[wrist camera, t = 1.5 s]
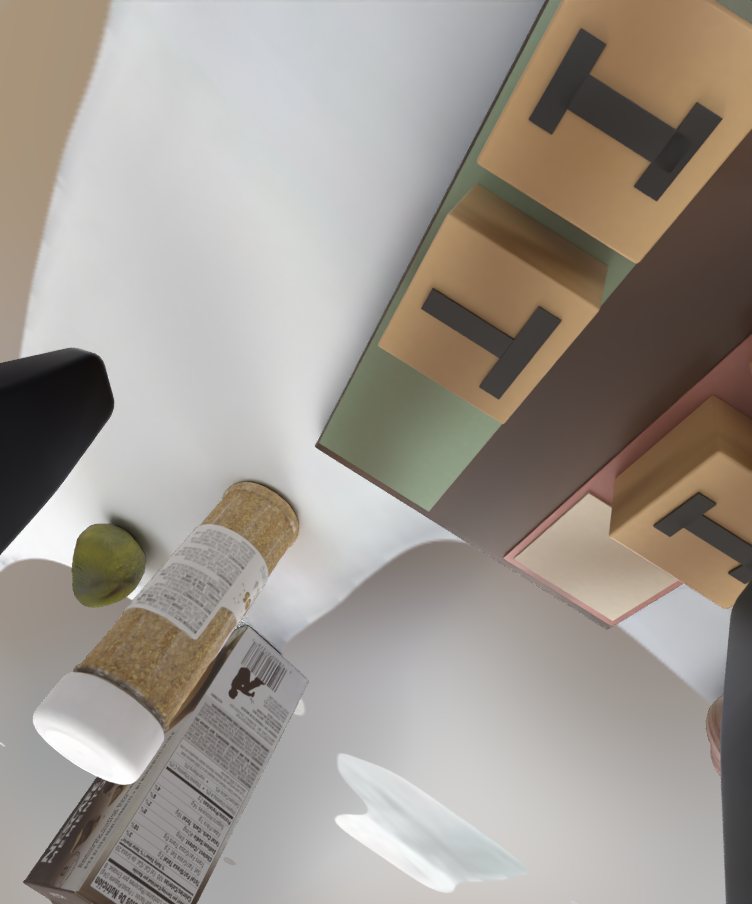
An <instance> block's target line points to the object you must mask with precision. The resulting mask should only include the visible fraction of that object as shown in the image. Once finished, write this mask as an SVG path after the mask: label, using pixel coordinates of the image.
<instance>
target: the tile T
mask: <svg viewBox="0 0 752 904" xmlns="http://www.w3.org/2000/svg"><path fill="white" fill-rule="evenodd" d="M607 271H608V266H607V265H605V264H604V263H602V262H600V261H599V260H597V259H596V258H594V257H593V256H591V255H589V254H588V253H586V252H585V251H583V250H582V249H580V248H578V247H577V246H575V245H574V244H572V243H570V242H569V241H567V240H566V239H564V238H563V237H561V236H559V235H558V234H556V233H555V232H553V231H552V230H550V229H548V228H547V227H545V226H544V225H542V224H540V223H539V222H537V221H536V220H534V219H533V218H531V217H529V216H528V215H526V214H525V213H523V212H522V211H520V210H518V209H517V208H515V207H514V206H512V205H510V204H509V203H507V202H506V201H504V200H503V199H501V198H499V197H498V196H496V195H495V194H493V193H492V192H490V191H488V190H487V189H485V188H484V187H482V186H481V185H479V184H475V185H474V186H473V187H472V188H471V189H470V190H469V191H468V192H467V193H466V195H465V196H464V197H463V198H462V199H461V200H460V201H459V202H458V203H457V204H456V205H455V207H454V208H453V209H452V210H451V211H450V212H449V213H448V214H447V216H446V218H445V220H444V221H443V223H442V225H441V227H440V229H439V231H438V233H437V235H436V236H435V238H434V240H433V242H432V244H431V246H430V248H429V250H428V251H427V253H426V255H425V257H424V259H423V261H422V263H421V264H420V266H419V268H418V270H417V272H416V274H415V276H414V278H413V279H412V281H411V283H410V285H409V287H408V289H407V291H406V293H405V294H404V296H403V298H402V300H401V302H400V304H399V306H398V308H397V309H396V311H395V313H394V315H393V317H392V319H391V321H390V323H389V324H388V326H387V328H386V330H385V332H384V334H383V336H382V338H381V339H380V341H379V343H378V346H379V347H381V348H382V349H384V350H385V351H387V352H389V353H390V354H392V355H393V356H395V357H396V358H398V359H400V360H401V361H403V362H404V363H406V364H408V365H409V366H411V367H412V368H414V369H416V370H417V371H419V372H420V373H422V374H424V375H425V376H427V377H428V378H430V379H431V380H433V381H435V382H436V383H438V384H439V385H441V386H443V387H444V388H446V389H447V390H449V391H451V392H452V393H454V394H455V395H457V396H458V397H460V398H462V399H463V400H465V401H466V402H468V403H470V404H471V405H473V406H474V407H476V408H478V409H479V410H481V411H482V412H484V413H486V414H487V415H489V416H490V417H492V418H493V419H495V420H497V421H498V422H500V423H501V424H504V423H505V422H506V421H507V420H508V419H509V417H510V416H511V415H512V414H513V413H514V411H515V410H516V409H517V408H518V407H519V406H520V404H521V403H522V402H523V401H524V400H525V398H526V397H527V396H528V395H529V394H530V392H531V391H532V390H533V389H534V388H535V387H536V385H537V384H538V383H539V382H540V381H541V379H542V378H543V377H544V376H545V375H546V373H547V372H548V371H549V370H550V369H551V367H552V366H553V365H554V364H555V363H556V362H557V360H558V359H559V358H560V357H561V356H562V354H563V353H564V352H565V351H566V350H567V348H568V347H569V346H570V345H571V344H572V343H573V341H574V340H575V339H576V338H577V337H578V335H579V334H580V333H581V332H582V331H583V329H584V328H585V327H586V326H587V325H588V323H589V322H590V321H591V320H592V319H593V318H594V316H595V315H596V314H597V313H598V312H599V310H600V305H601V301H602V296H603V291H604V286H605V281H606V276H607Z"/></svg>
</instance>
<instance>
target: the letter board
mask: <svg viewBox="0 0 752 904" xmlns="http://www.w3.org/2000/svg"><path fill="white" fill-rule="evenodd" d="M561 1H562V0H545V2H544V4H543V6H542V8H541V10H540V12H539V14H538V16H537V18H536V20H535V22H534V24H533V25H532V27H531V29H530V31H529V33H528V35H527V37H526V39H525V41H524V43H523V45H522V47H521V49H520V51H519V53H518V54H517V56H516V58H515V60H514V62H513V64H512V66H511V68H510V70H509V72H508V74H507V76H506V78H505V80H504V82H503V83H502V85H501V87H500V89H499V91H498V93H497V95H496V97H495V99H494V101H493V103H492V105H491V107H490V109H489V110H488V112H487V114H486V116H485V118H484V120H483V122H482V124H481V126H480V128H479V130H478V132H477V134H476V136H475V138H474V139H473V141H472V143H471V145H470V147H469V149H468V151H467V153H466V155H465V157H464V159H463V161H462V163H461V165H460V167H459V168H458V170H457V172H456V174H455V176H454V178H453V180H452V182H451V184H450V186H449V188H448V190H447V192H446V194H445V196H444V197H443V199H442V201H441V203H440V205H439V207H438V209H437V211H436V213H435V215H434V217H433V219H432V221H431V223H430V224H429V226H428V228H427V230H426V232H425V234H424V236H423V238H422V240H421V242H420V244H419V246H418V248H417V250H416V252H415V253H414V255H413V257H412V259H411V261H410V263H409V265H408V267H407V269H406V271H405V273H404V275H403V277H402V279H401V281H400V282H399V284H398V286H397V288H396V290H395V292H394V294H393V296H392V298H391V300H390V302H389V304H388V306H387V308H386V310H385V311H384V313H383V315H382V317H381V319H380V321H379V323H378V325H377V327H376V329H375V331H374V333H373V335H372V337H371V338H370V340H369V342H368V344H367V346H366V348H365V350H364V352H363V354H362V356H361V358H360V360H359V362H358V364H357V366H356V367H355V369H354V371H353V373H352V375H351V377H350V379H349V381H348V383H347V385H346V387H345V389H344V391H343V393H342V395H341V396H340V398H339V400H338V402H337V404H336V406H335V408H334V410H333V412H332V414H331V416H330V418H329V420H328V422H327V424H326V425H325V427H324V429H323V431H322V433H321V435H320V437H319V439H318V441H317V443H316V445H315V447H316V448H317V449H319V450H320V451H322V452H323V453H325V454H327V455H328V456H330V457H331V458H333V459H335V460H336V461H338V462H339V463H341V464H343V465H344V466H346V467H347V468H349V469H351V470H352V471H354V472H355V473H357V474H359V475H360V476H362V477H363V478H365V479H367V480H368V481H370V482H371V483H373V484H375V485H376V486H378V487H379V488H381V489H383V490H384V491H386V492H387V493H389V494H391V495H392V496H394V497H395V498H397V499H399V500H400V501H402V502H403V503H405V504H407V505H408V506H410V507H411V508H413V509H415V510H416V511H418V512H419V513H421V514H423V515H424V516H426V517H427V518H429V519H431V520H432V521H434V522H435V523H437V524H439V525H440V526H442V527H443V528H445V529H446V530H448V531H450V532H451V533H453V534H454V535H456V536H458V537H459V538H461V539H462V540H464V541H466V542H467V543H469V544H470V545H472V546H474V547H475V548H477V549H478V550H480V551H482V552H483V553H485V554H486V555H489V556H490V557H491V558H493V559H494V560H496V561H498V562H499V563H501V564H502V565H504V566H506V567H507V568H509V569H510V570H512V571H514V572H515V573H517V574H518V575H520V576H522V577H523V578H525V579H527V580H528V581H530V582H531V583H533V584H534V585H536V586H538V587H539V588H541V589H542V590H544V591H546V592H547V593H549V594H550V595H552V596H554V597H555V598H557V599H558V600H560V601H562V602H563V603H565V604H567V605H568V606H570V607H571V608H573V609H574V610H576V611H578V612H579V613H581V614H582V615H584V616H585V617H587V618H589V619H590V620H592V621H594V622H595V623H597V624H598V625H600V626H602V627H603V628H605V629H609V628H611V627H613V626H614V625H616V624H618V623H619V622H621V621H623V620H624V619H626V618H628V617H629V616H631V615H632V614H634V613H636V612H637V611H639V610H641V609H642V608H644V607H646V606H647V605H649V604H651V603H652V602H654V601H656V600H657V599H659V598H660V597H662V596H664V595H665V594H667V593H669V592H670V591H672V590H674V589H675V588H677V587H679V586H680V585H682V584H683V583H682V582H680V581H679V580H677V579H675V578H674V577H672V576H671V575H669V574H668V573H666V572H664V571H663V570H661V569H660V568H658V567H656V566H655V565H653V564H652V563H650V562H648V561H647V560H645V559H644V558H642V557H640V556H639V555H637V554H636V553H634V552H632V551H631V550H629V549H628V548H626V547H625V546H623V545H621V544H620V543H618V542H617V541H615V540H613V539H612V538H610V537H609V529H610V519H611V510H612V501H613V491H614V482H615V479H616V478H617V477H618V476H619V475H620V474H621V473H623V472H624V471H625V470H626V469H627V468H628V467H630V466H631V465H632V464H633V463H634V462H635V461H637V460H638V459H639V458H640V457H641V456H642V455H643V454H645V453H646V452H647V451H648V450H649V449H650V448H652V447H653V446H654V445H655V444H656V443H657V442H659V441H660V440H661V439H662V438H663V437H664V436H665V435H667V434H668V433H669V432H670V431H671V430H672V429H674V428H675V427H676V426H677V425H678V424H679V423H681V422H682V421H683V420H684V419H685V418H686V417H688V416H689V415H690V414H691V413H692V412H693V411H694V410H696V409H697V408H698V407H699V406H700V405H701V404H703V403H704V402H705V401H706V400H707V399H708V398H710V397H711V396H716V397H717V398H719V399H720V400H722V401H723V402H725V403H727V404H728V405H730V406H731V407H733V408H735V409H736V410H738V411H739V412H741V413H742V414H744V415H746V416H747V417H749V418H750V419H752V373H751V368H750V362H751V361H752V129H751V130H750V132H749V133H748V134H747V135H746V136H745V138H744V139H743V140H742V141H741V142H740V143H739V145H738V146H737V147H736V148H735V149H734V151H733V152H732V153H731V154H730V155H729V157H728V158H727V159H726V160H725V161H724V162H723V164H722V165H721V166H720V167H719V168H718V170H717V171H716V172H715V173H714V174H713V176H712V177H711V178H710V179H709V180H708V182H707V183H706V184H705V185H704V186H703V187H702V189H701V190H700V191H699V192H698V193H697V195H696V196H695V197H694V198H693V199H692V201H691V202H690V203H689V204H688V205H687V207H686V208H685V209H684V210H683V211H682V212H681V214H680V215H679V216H678V217H677V218H676V220H675V221H674V222H673V223H672V224H671V226H670V227H669V228H668V229H667V230H666V232H665V233H664V234H663V235H662V236H661V237H660V239H659V240H658V241H657V242H656V243H655V245H654V246H653V247H652V248H651V249H650V251H649V252H648V253H647V254H646V255H645V256H644V258H643V259H642V260H641V261H640V262H639V263H637V264H636V263H633V262H631V261H630V260H628V259H627V258H625V257H624V256H622V255H620V254H619V253H617V252H616V251H614V250H613V249H611V248H609V247H608V246H606V245H605V244H603V243H601V242H600V241H598V240H597V239H595V238H594V237H592V236H590V235H589V234H587V233H586V232H584V231H583V230H581V229H579V228H578V227H576V226H575V225H573V224H572V223H570V222H568V221H567V220H565V219H564V218H562V217H560V216H559V215H557V214H556V213H554V212H553V211H551V210H549V209H548V208H546V207H545V206H543V205H542V204H540V203H538V202H537V201H535V200H534V199H532V198H531V197H529V196H527V195H526V194H524V193H523V192H521V191H519V190H518V189H516V188H515V187H513V186H512V185H510V184H508V183H507V182H505V181H504V180H502V179H501V178H499V177H497V176H496V175H494V174H493V173H491V172H490V171H488V170H486V169H485V168H483V167H482V166H480V165H479V164H478V163H477V158H478V156H479V154H480V152H481V151H482V149H483V147H484V145H485V143H486V141H487V139H488V137H489V136H490V134H491V132H492V130H493V128H494V126H495V124H496V122H497V121H498V119H499V117H500V115H501V113H502V111H503V109H504V107H505V106H506V104H507V102H508V100H509V98H510V96H511V94H512V93H513V91H514V89H515V87H516V85H517V83H518V81H519V79H520V78H521V76H522V74H523V72H524V70H525V68H526V66H527V64H528V63H529V61H530V59H531V57H532V55H533V53H534V51H535V49H536V48H537V46H538V44H539V42H540V40H541V38H542V36H543V34H544V33H545V31H546V29H547V27H548V25H549V23H550V21H551V20H552V18H553V16H554V14H555V12H556V10H557V8H558V6H559V5H560V3H561ZM715 1H717V2H718V3H720V4H722V5H723V6H725V7H726V8H728V9H729V10H731V11H733V12H734V13H736V14H737V15H739V16H740V17H742V18H743V19H745V20H747V21H748V22H750V23H751V24H752V0H715ZM475 184H479V185H481V186H482V187H484V188H485V189H487V190H488V191H490V192H492V193H493V194H495V195H496V196H498V197H499V198H501V199H503V200H504V201H506V202H507V203H509V204H510V205H512V206H514V207H515V208H517V209H518V210H520V211H522V212H523V213H525V214H526V215H528V216H529V217H531V218H533V219H534V220H536V221H537V222H539V223H540V224H542V225H544V226H545V227H547V228H548V229H550V230H552V231H553V232H555V233H556V234H558V235H559V236H561V237H563V238H564V239H566V240H567V241H569V242H570V243H572V244H574V245H575V246H577V247H578V248H580V249H582V250H583V251H585V252H586V253H588V254H589V255H591V256H593V257H594V258H596V259H597V260H599V261H600V262H602V263H604V264H605V265H607V266H608V271H607V276H606V281H605V286H604V291H603V296H602V301H601V305H600V310H599V312H598V313H597V314H596V315H595V316H594V318H593V319H592V320H591V321H590V322H589V323H588V325H587V326H586V327H585V328H584V329H583V331H582V332H581V333H580V334H579V335H578V337H577V338H576V339H575V340H574V341H573V343H572V344H571V345H570V346H569V347H568V348H567V350H566V351H565V352H564V353H563V354H562V356H561V357H560V358H559V359H558V360H557V362H556V363H555V364H554V365H553V366H552V367H551V369H550V370H549V371H548V372H547V373H546V375H545V376H544V377H543V378H542V379H541V381H540V382H539V383H538V384H537V385H536V387H535V388H534V389H533V390H532V391H531V392H530V394H529V395H528V396H527V397H526V398H525V400H524V401H523V402H522V403H521V404H520V406H519V407H518V408H517V409H516V410H515V411H514V413H513V414H512V415H511V416H510V417H509V419H508V420H507V421H506V422H505V423H504V424H501V423H500V422H498V421H497V420H495V419H493V418H492V417H490V416H489V415H487V414H486V413H484V412H482V411H481V410H479V409H478V408H476V407H474V406H473V405H471V404H470V403H468V402H466V401H465V400H463V399H462V398H460V397H458V396H457V395H455V394H454V393H452V392H451V391H449V390H447V389H446V388H444V387H443V386H441V385H439V384H438V383H436V382H435V381H433V380H431V379H430V378H428V377H427V376H425V375H424V374H422V373H420V372H419V371H417V370H416V369H414V368H412V367H411V366H409V365H408V364H406V363H404V362H403V361H401V360H400V359H398V358H396V357H395V356H393V355H392V354H390V353H389V352H387V351H385V350H384V349H382V348H381V347H379V346H378V343H379V341H380V339H381V338H382V336H383V334H384V332H385V330H386V328H387V326H388V324H389V323H390V321H391V319H392V317H393V315H394V313H395V311H396V309H397V308H398V306H399V304H400V302H401V300H402V298H403V296H404V294H405V293H406V291H407V289H408V287H409V285H410V283H411V281H412V279H413V278H414V276H415V274H416V272H417V270H418V268H419V266H420V264H421V263H422V261H423V259H424V257H425V255H426V253H427V251H428V250H429V248H430V246H431V244H432V242H433V240H434V238H435V236H436V235H437V233H438V231H439V229H440V227H441V225H442V223H443V221H444V220H445V218H446V216H447V214H448V213H449V212H450V211H451V210H452V209H453V208H454V207H455V205H456V204H457V203H458V202H459V201H460V200H461V199H462V198H463V197H464V196H465V195H466V193H467V192H468V191H469V190H470V189H471V188H472V187H473V186H474V185H475Z"/></svg>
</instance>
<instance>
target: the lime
mask: <svg viewBox="0 0 752 904" xmlns="http://www.w3.org/2000/svg"><path fill="white" fill-rule="evenodd" d="M145 565H146V559H145V554H144V552H143V551H142V549H141V548H140V546H139V545H138V544H137V542H136V541H135V540H134V539H133V537H132V536H131V535H130V534H129V533H128V532H127V531H125V530H124V529H122V528H120V527H118V526H115V525H112V524H94V525H91V526H89V527H88V528H87V529H86V530H85V531H84V532H82V533H81V534H80V536H79V537H78V539H77V542H76V547H75V550H74V555H73V563H72V573H73V574H72V575H73V578H72V579H73V580H72V581H73V583H72V586H73V591H74V595H75V596H76V598H77V599H78V600H79V602H80V603H81V604H83V605H84V606H87V607H102V606H107V605H110V604H113V603H116V602H118V601H121V600H122V599H124V598H126V597H127V596H128V595H129V594H130V593H131V592H132V591H134V590H135V588H136V587H137V585H138V584H139V582H140V580H141V578H142V576H143V574H144V570H145Z"/></svg>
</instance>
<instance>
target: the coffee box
mask: <svg viewBox="0 0 752 904" xmlns="http://www.w3.org/2000/svg"><path fill="white" fill-rule="evenodd" d="M308 682H309V680H308V679H307V678H306V677H305V676H304V675H303V674H301V673H300V672H299V671H298V670H297V669H296V668H295V667H294V666H293V665H291V664H290V663H289V662H288V661H287V660H286V659H285V658H284V657H283V656H281V655H280V654H279V653H278V652H277V651H276V650H275V649H274V648H273V647H271V646H270V645H269V644H268V643H267V642H266V641H265V640H264V639H263V638H261V637H260V636H259V635H258V634H257V633H256V632H255V631H254V630H253V629H252V628H250V627H248V626H244V627H241V628H239V629H236V630H234V631H233V632H232V634H231V635H230V637H229V638H228V640H227V641H226V643H225V644H224V646H223V647H222V649H221V650H220V652H219V653H218V655H217V656H216V657H215V658H214V659H213V661H212V662H211V663H210V664H209V666H208V667H207V669H206V671H205V672H204V673H203V674H202V676H201V678H200V679H199V681H198V682H197V684H196V685H195V687H194V688H193V689H192V691H191V692H190V694H189V695H188V697H187V698H186V700H185V701H184V703H183V704H182V705H181V707H180V709H179V711H178V712H177V713H176V715H175V716H174V717H173V719H172V720H171V722H170V724H169V729H168V730H167V731H164V741H163V743H162V745H161V746H160V748H159V749H158V751H157V752H156V754H155V755H154V757H153V758H152V760H151V761H150V763H149V764H148V766H147V767H146V769H145V770H144V771H143V773H142V774H141V776H140V777H139V778H138V779H137V780H136V781H135V782H134V783H132V784H126V785H122V784H117V783H113V782H109V781H107V780H104V779H102V778H99V777H97V778H96V779H95V781H94V782H93V783H92V785H91V787H90V788H89V789H88V791H87V792H86V793H85V795H84V796H83V798H82V799H81V801H80V802H79V804H78V805H77V807H76V808H75V809H74V810H73V812H72V813H71V815H70V816H69V818H68V819H67V820H66V822H65V823H64V825H63V826H62V828H61V829H60V830H59V832H58V833H57V835H56V836H55V838H54V839H53V841H52V842H51V843H50V845H49V846H48V848H47V849H46V851H45V852H44V854H43V855H42V856H41V858H40V859H39V861H38V862H37V864H36V865H35V867H34V868H33V869H32V871H31V872H30V874H29V875H28V877H27V878H26V879H25V880H24V881H23V883H24V884H26V885H27V886H29V887H31V888H32V889H34V890H35V891H37V892H39V893H40V894H42V895H43V896H45V897H46V898H48V899H49V900H51V902H52V903H53V904H197V902H198V900H199V898H200V896H201V894H202V892H203V890H204V888H205V886H206V884H207V882H208V880H209V878H210V876H211V874H212V872H213V870H214V868H215V866H216V864H217V862H218V860H219V858H220V856H221V854H222V852H223V850H224V848H225V846H226V844H227V843H228V841H229V839H230V836H231V835H232V833H233V831H234V829H235V827H236V824H237V823H238V821H239V818H240V817H241V815H242V813H243V811H244V809H245V807H246V805H247V803H248V801H249V799H250V797H251V795H252V793H253V791H254V789H255V787H256V785H257V783H258V781H259V779H260V777H261V775H262V773H263V771H264V769H265V767H266V765H267V763H268V762H269V759H270V758H271V756H272V754H273V752H274V749H275V748H276V746H277V744H278V742H279V740H280V738H281V736H282V734H283V732H284V730H285V728H286V726H287V724H288V722H289V720H290V718H291V716H292V714H293V713H294V711H295V708H296V706H297V704H298V702H299V700H300V698H301V696H302V694H303V692H304V690H305V688H306V686H307V684H308Z"/></svg>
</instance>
